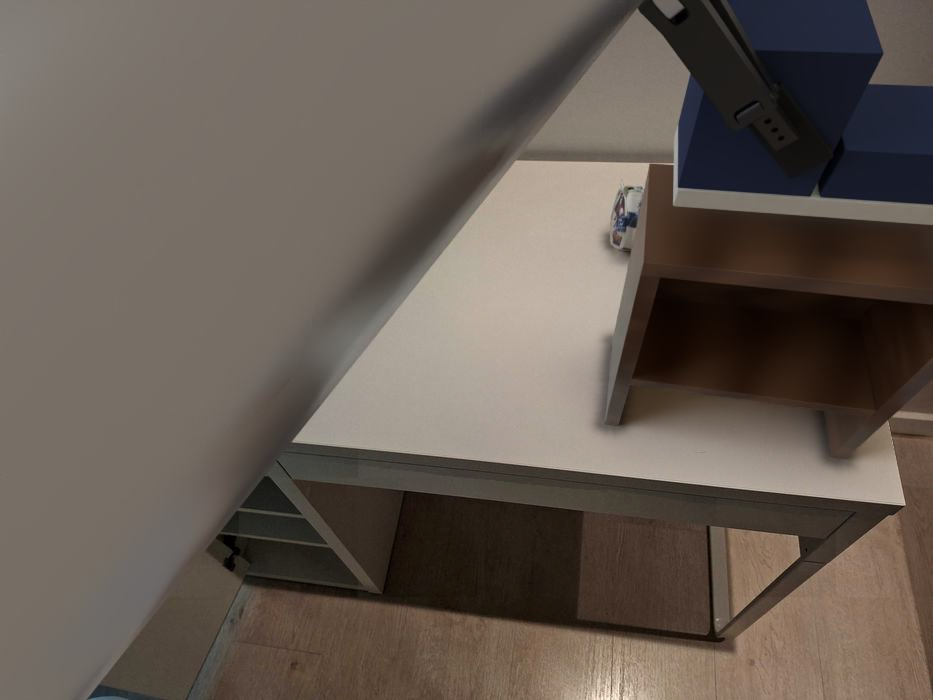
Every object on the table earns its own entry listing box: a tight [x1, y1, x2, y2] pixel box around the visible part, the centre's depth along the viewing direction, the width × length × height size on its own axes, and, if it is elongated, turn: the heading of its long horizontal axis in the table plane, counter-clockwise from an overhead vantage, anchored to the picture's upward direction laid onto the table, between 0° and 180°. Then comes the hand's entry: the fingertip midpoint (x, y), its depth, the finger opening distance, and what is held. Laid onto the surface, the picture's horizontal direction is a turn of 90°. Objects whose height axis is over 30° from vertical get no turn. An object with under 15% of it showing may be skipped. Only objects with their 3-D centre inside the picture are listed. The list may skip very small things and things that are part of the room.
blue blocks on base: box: [673, 0, 933, 225], centre depth 40 cm, size 22×8×12 cm, turn 79°
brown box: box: [604, 163, 933, 460], centre depth 59 cm, size 26×12×28 cm, turn 78°
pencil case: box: [609, 178, 644, 252], centre depth 81 cm, size 22×8×10 cm, turn 85°
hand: (803, 125), depth 42 cm, fingers closed on blue blocks on base, 8 cm apart
